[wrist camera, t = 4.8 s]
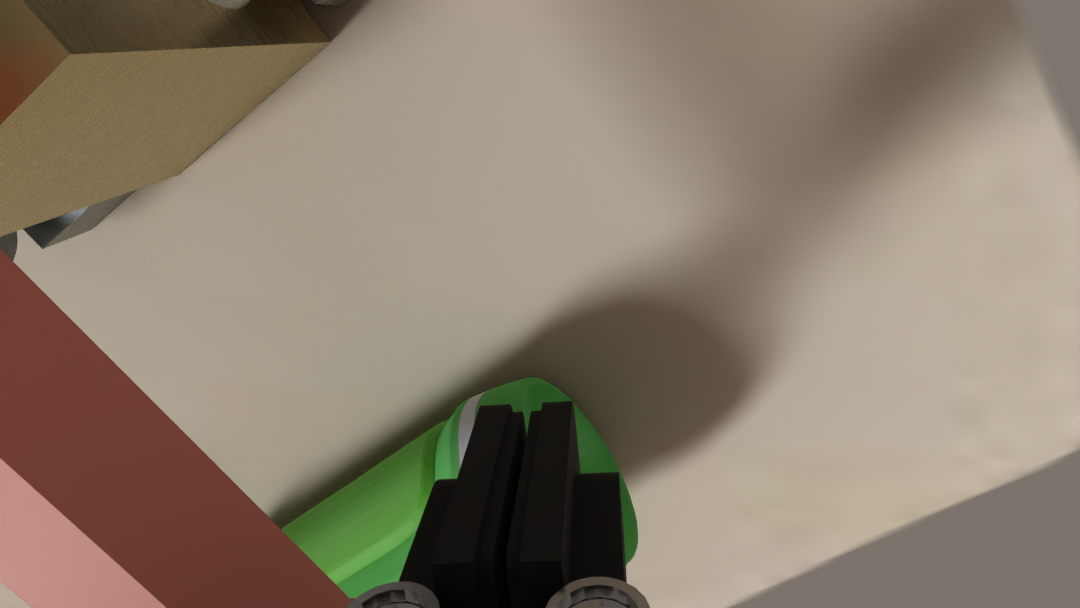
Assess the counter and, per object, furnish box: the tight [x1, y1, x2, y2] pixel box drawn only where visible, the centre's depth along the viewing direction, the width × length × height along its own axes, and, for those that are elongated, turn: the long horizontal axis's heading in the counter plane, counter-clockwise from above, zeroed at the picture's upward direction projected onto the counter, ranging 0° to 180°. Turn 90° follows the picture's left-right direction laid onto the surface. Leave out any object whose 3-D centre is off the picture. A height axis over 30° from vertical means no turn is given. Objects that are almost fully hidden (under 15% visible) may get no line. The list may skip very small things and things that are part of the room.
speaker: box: [281, 377, 638, 598], centre depth 24 cm, size 18×7×8 cm, turn 128°
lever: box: [0, 249, 356, 608], centre depth 11 cm, size 4×18×4 cm, turn 36°
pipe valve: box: [0, 0, 350, 261], centre depth 16 cm, size 18×7×11 cm, turn 126°
